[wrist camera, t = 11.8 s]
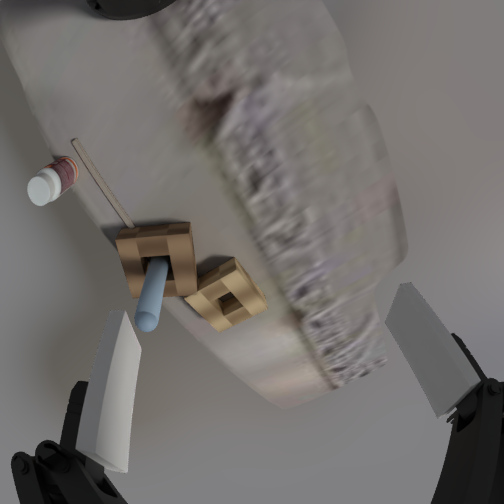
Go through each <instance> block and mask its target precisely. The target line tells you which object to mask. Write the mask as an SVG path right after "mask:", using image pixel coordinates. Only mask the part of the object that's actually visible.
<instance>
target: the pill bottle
mask: <svg viewBox="0 0 504 504" xmlns="http://www.w3.org/2000/svg"><path fill="white" fill-rule="evenodd" d="M77 178H78V167H77V165H76V163H75V161H74V160H73V159H71V158H69V157H62V158H60V159H58V160H56V161H54V162H53V163H51V164H49V165H47V166H46V167H44V168H42V169H41V170H40V171H38V173H37V174H36V176H34V177H33V178H32V179H31V180H30V181H29V183H28V195H29V197H30V199H31V201H32V202H33V203H34V204H36V205H39V206H43V205H45V204H46V203H48V202H50V201H54V200H55V199H57V198H58V197H59V196H60V195H61V194H62V193H64V192H65V191H66V190H67V189H68V188H69V187H71V186H72V185H73V184H74V183H75V182H76V181H77Z"/></svg>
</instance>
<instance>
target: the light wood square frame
mask: <svg viewBox="0 0 504 504" xmlns="http://www.w3.org/2000/svg"><path fill="white" fill-rule="evenodd" d="M230 291H231V292H232V294H233V295H234V296H235V297H233V298H231V299H229V300H227V301H225V302H222V301H221V300H220V299H219V297H221V296H223V295H225V294H227V293H229V292H230ZM194 294H198V295H188V296H184V299H185V300H186V301H187V302H188V303H189V304H190V305H191V306H192V307H193V308H194V309H195V310H196V311H197V312H198V313H199V314H200V315H201V316H202V317H203V318H204V319H206V320H207V321H208V322H209V323H210V324H211V325H212V326H213V327H214V328H215V329H216V330H217V331H218V332H222V331H224V330H226V329H228V328H230V327H232V326H234V325H236V324H238V323H240V322H242V321H244V320H246V319H248V318H250V317H252V316H254V315H256V314H258V313H260V312H262V311H264V310H266V309H268V307H267V303H266V299H265V295H264V294H263V293H262V291H261V290H260V289H259V288H258V286H257V285H256V284H255V282H254V281H253V280H252V279H251V277H250V276H249V275H248V273H247V272H246V271H245V270H244V268H243V267H242V266H241V264H240V263H239V262H238V261H237V259H236V258H235V257H234V258H232V259H231V260H229V261H227V262H225V263H224V264H222V265H220V266H218V267H217V268H215V269H213V270H211V271H210V272H208V273H206V274H204V275H203V276H201V277H199V278H198V289H197V293H194Z"/></svg>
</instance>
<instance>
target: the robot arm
mask: <svg viewBox="0 0 504 504" xmlns="http://www.w3.org/2000/svg"><path fill="white" fill-rule="evenodd" d="M86 1H87V3H88V4H89V6H90V7H91V8H92V9H93V10H95V11H96V12H98V13H99V14H101V15H103V16H105V17H107V18H110V19H115V20H131V19H137V18H141V17H145V16H148V15H151V14H153V13H156V12H158V11H160V10H162V9H164V8H166V7H167V6H169V5H170V4H172V3H173V2H175V1H176V0H86ZM385 324H386V325H387V327H388V328H389V330H390V332H391V333H392V335H393V337H394V338H395V340H396V342H397V344H398V345H399V347H400V349H401V350H402V352H403V354H404V356H405V357H406V359H407V361H408V363H409V364H410V366H411V368H412V370H413V372H414V374H415V375H416V377H417V379H418V381H419V383H420V385H421V387H422V388H423V391H424V392H425V394H426V396H427V398H428V400H429V402H430V404H431V406H432V408H433V410H434V412H435V414H436V416H437V418H438V419H439V418H441V417H442V416H444V415H446V414H448V413H449V412H450V411H452V410H453V409H454V408H455V407H456V408H457V410H456V411H455V412H454V413H453V414H452V415H451V416H450V417H449V418H448V419H447V423H448V422H449V421H451V420H452V419H453V418H454V419H453V420H452V422H451V424H453V426H452V431H451V436H450V441H449V445H448V450H447V454H446V457H445V461H444V465H443V468H442V472H441V475H440V478H439V481H438V484H437V487H436V490H435V493H434V496H433V499H432V501H431V504H504V382H498V381H497V380H496V379H494V378H489V379H488V378H487V377H486V376H485V374H484V373H483V371H482V370H481V368H480V367H479V365H478V363H477V362H476V360H475V359H474V357H473V356H472V355H471V353H470V351H469V350H468V349H467V348H466V345H465V344H464V343H463V341H462V340H461V339H460V338H459V337H458V336H457V335H455V334H454V333H452V334H450V333H449V331H448V330H447V328H446V327H445V326H444V324H443V323H442V322H441V320H440V319H439V318H438V316H437V315H436V313H435V312H434V311H433V310H432V308H431V307H430V306H429V304H428V303H427V302H426V300H425V299H424V298H423V297H422V295H421V294H420V293H419V292H418V290H417V289H416V288H415V287H414V286H413V284H412V283H411V282H410V283H404V284H400V285H399V288H398V291H397V294H396V296H395V299H394V301H393V304H392V306H391V309H390V311H389V314H388V316H387V318H386V321H385ZM140 356H141V347H140V344H139V342H138V340H137V338H136V335H135V333H134V331H133V328H132V326H131V324H130V321H129V319H128V316H127V314H126V311H125V310H119V311H118V310H116V311H115V310H113V311H110V313H109V315H108V319H107V322H106V324H105V328H104V331H103V334H102V337H101V340H100V343H99V347H98V350H97V354H96V357H95V361H94V364H93V368H92V372H91V375H90V379H89V382H86V381H78V382H77V383H76V385H75V386H74V388H73V389H72V391H71V395H70V399H69V404H68V407H67V413H66V415H65V420H64V425H63V430H62V435H61V440H60V444H57V443H55V442H54V441H51V440H45V441H43V442H41V443H40V444H39V445H38V446H37V448H36V451H35V456H30V455H28V454H26V453H25V452H17V453H15V454H14V456H13V457H12V461H11V468H12V473H13V478H14V482H15V486H16V490H17V494H18V498H19V501H20V504H128V503H127V502H126V501H125V500H124V498H123V497H122V496H121V495H120V493H119V492H118V491H117V489H116V488H115V487H114V485H113V484H112V483H111V481H110V480H109V478H108V477H107V476H106V474H104V467H105V468H107V469H109V470H112V471H117V472H124V473H128V457H129V444H130V431H131V421H132V412H133V403H134V396H135V388H136V381H137V374H138V367H139V361H140Z"/></svg>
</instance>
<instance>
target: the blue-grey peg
mask: <svg viewBox="0 0 504 504" xmlns="http://www.w3.org/2000/svg"><path fill="white" fill-rule="evenodd" d="M169 262H170V255H162V256H152V257H151V260H150V263H149V266H148V270H147V273H146V276H145V280H144V283H143V287H142V290H141V294H140V298H139V301H138V305H137V309H136V313H135V317H134V319H135V324H136V326H137V327H138V328H139V329H140V330H142V331H144V332H150V331H152V330H153V329H155V328H156V326H157V324H158V320H159V314H160V309H161V303H162V297H163V292H164V287H165V281H166V276H167V271H168V266H169Z"/></svg>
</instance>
